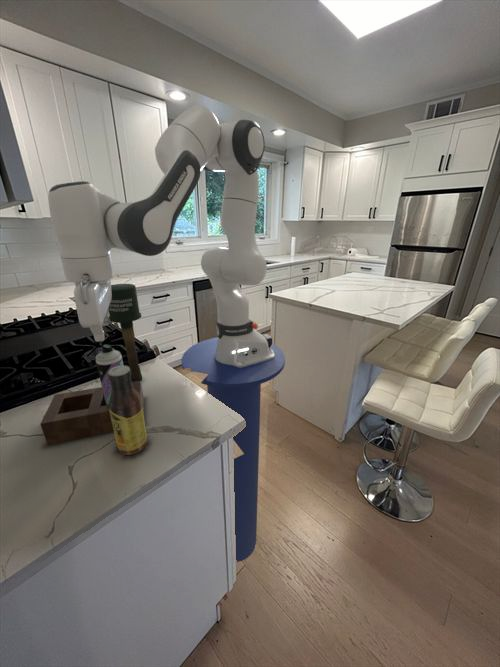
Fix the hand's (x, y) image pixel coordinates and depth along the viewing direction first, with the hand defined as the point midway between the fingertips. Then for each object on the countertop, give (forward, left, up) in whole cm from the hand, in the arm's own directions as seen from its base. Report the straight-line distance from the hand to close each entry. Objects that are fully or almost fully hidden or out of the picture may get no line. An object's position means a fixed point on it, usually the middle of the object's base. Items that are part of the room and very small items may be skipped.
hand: (103, 331), depth 62 cm
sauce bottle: (-3, +12, -24) cm, 27 cm away
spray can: (0, 0, -24) cm, 24 cm away
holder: (+5, 0, -23) cm, 24 cm away
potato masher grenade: (-3, -16, -24) cm, 29 cm away
